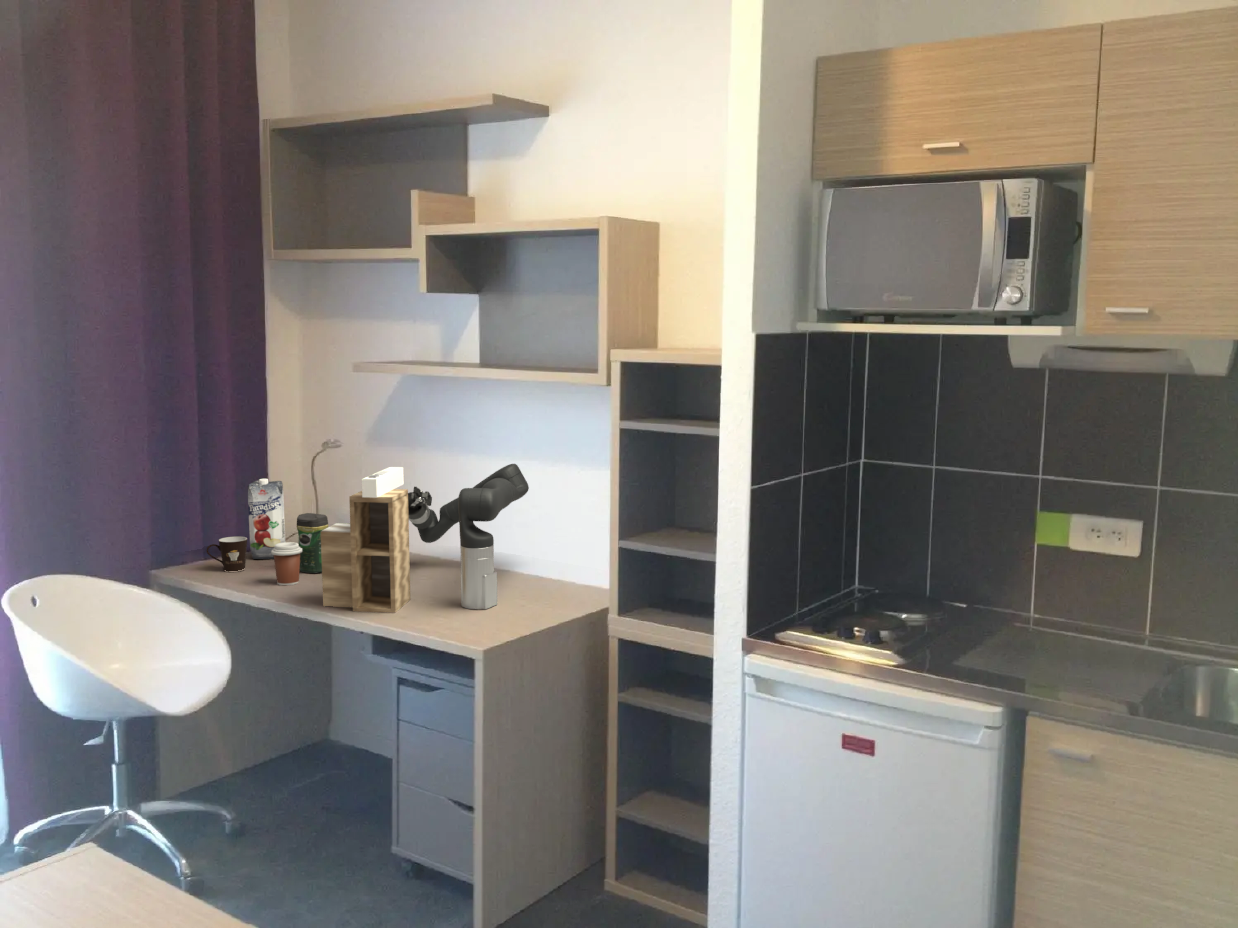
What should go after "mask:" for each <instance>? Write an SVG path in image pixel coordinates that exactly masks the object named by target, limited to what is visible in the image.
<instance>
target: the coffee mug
mask: <svg viewBox="0 0 1238 928" xmlns="http://www.w3.org/2000/svg"><path fill="white" fill-rule="evenodd" d="M218 543H219V545H218V544H215V543H212V544H209V545H208V546H207V547H206V553H207V554H208V555H207V556H209V557H211V558H212V559H213V560H216V561H218V562H219V563H221V564H222V567H223V571H224V570H226V571H238V570H242V569H244V568H245V569H246V561H247V549H248V548H247V546H248V538H247V537H245V536H228V537H222V538H219V539H218ZM211 547H216V548H217V549H218V550H219V552H220V556H221V559H220V558H217V557H215V556H213V555H212V554H211V553H210V552H209V549H210V548H211Z"/></svg>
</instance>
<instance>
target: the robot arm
mask: <svg viewBox="0 0 1238 928" xmlns="http://www.w3.org/2000/svg"><path fill="white" fill-rule="evenodd" d="M529 488H530V487H529V483H528V481H527V480H526V478H525V477H524V474H523V472H522V471H521V468H520V467H519V465H518V464H516V463H511V464H507V465H505V466H503V467H501V468H500V469H498V470H496V471H494V472H493V473H492V474H490V475H489V476H487V477H486V478H484V479H483V480H481V481H480V482H479V483H477V484H476V485H474V486H473V487H465V488H462V489H461V490H460V491H459V494H458V497H457V498H454V499H453V500H451V501H449V502H447V503H446V504H444V505H442V506H441V507H440V508H439V519H438V516H437V514H436V512H435V510H434V509H430V506H431V507H432V500H433V497H432V495H431V494H430V492H429V491H427V490H426V491H425V492H424V491H423V490H421V489H420V488H419V487H417V486H414V487H413V491H411V492H408V516H409V522H411V524H412V525H413V526H414V527H416V528H417V531H418V534H419V537H420V540H421V541H422V542H424V543H426V544H431V543H435V542H437V541H438V540H440V539H441V538H442V537H443V536H444V535H445V534H446V533H447V532H448V531H449V530H450V529H451V528H453V526H454V525H456V524H458V523H459V524H458V525H459V540H460V541H459V542H460V548H459V549H460V598H461V599H460V600H461V601H460V604H461V607H462V608H464V609H469V610H488V609H489V608H492V607H494V606H496V605H498V572H497V571H496V570H495V558H494V557H495V556H494V552H495V550H494V549H495V548H494V544H495V543H494V541H495V540H494V536H493V534H492V533H490V532H488V531H485V530H483V529H481V528H480V527H478V526H477V525H475V523H474V522H492V521H493V520H495V519H496V518H497V517H498V515H499V514H500V512H501V511H503V510H504V509H506V508H507V507H508V506H509V505H510V504H512V503H513V502H516V501H518V500H519V499H521V498H523V497H524V496H526V494H527V493H528V491H529V490H530V489H529Z"/></svg>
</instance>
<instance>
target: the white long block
mask: <svg viewBox="0 0 1238 928" xmlns="http://www.w3.org/2000/svg"><path fill="white" fill-rule="evenodd" d="M404 477H405V476H404V466H389V467H386V468H384V469H382V470H379V471H377V472H375V473H373V474H370V475H368V476H366V477H364V478H361V491H362V497H370V498H377V497H379V496H381V495H383V494H385V493H387V492H389V491H391V490H393V489H398V488H399V487H401V486H403V485H405V483H404Z"/></svg>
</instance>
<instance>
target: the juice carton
mask: <svg viewBox="0 0 1238 928" xmlns="http://www.w3.org/2000/svg"><path fill="white" fill-rule="evenodd" d="M283 485H284V484H283V481H282V480H271V481H269V479H268V478H260V479H258V480H254V481H253V482H250V483H249V484H248V485H247V506H248V508H247V509H248V525H249V526H248V527H249V532H248V533H249V548H250V553H251V557H252V560H254V559H274V555H273V554H271V551H272V550H273V549H274V548H275V544H278V543H284V542H286V524H285V522H286V521H285V498H284V497H285V495H284V489H283V488H284V486H283Z"/></svg>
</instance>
